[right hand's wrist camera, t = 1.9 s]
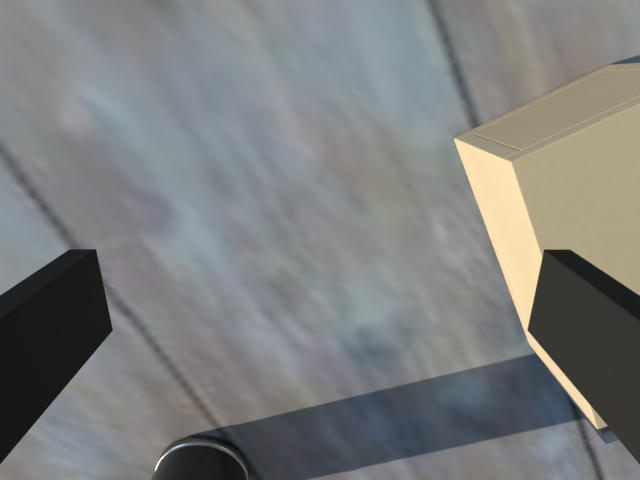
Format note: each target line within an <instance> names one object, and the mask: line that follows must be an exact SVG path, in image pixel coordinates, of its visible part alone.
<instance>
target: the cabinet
mask: <svg viewBox="0 0 640 480" xmlns="http://www.w3.org/2000/svg"><path fill="white" fill-rule="evenodd" d="M454 141H455V143H456V146H457V149H458V151H459V154H460V157H461V160H462V162H463V165H464V168H465V170H466V173H467V176H468V179H469V181H470V184H471V187H472V190H473V192H474V195H475V198H476V200H477V203H478V206H479V209H480V211H481V214H482V217H483V219H484V222H485V225H486V228H487V230H488V233H489V236H490V239H491V241H492V244H493V247H494V249H495V252H496V255H497V258H498V260H499V263H500V266H501V268H502V271H503V274H504V277H505V279H506V282H507V285H508V288H509V290H510V293H511V296H512V298H513V301H514V304H515V307H516V309H517V312H518V315H519V317H520V320H521V323H522V326H523V328H524V331H525V334H526V337H527V339H528V342H529V344H530V346H531V347H532V348H533V349H534V350H535V352H536V353H537V354H538V356H539V357H540V358H541V359H542V361H543V362H544V363H545V364H546V366H547V367H548V368H549V370H550V371H551V372H552V373H553V375H554V376H555V377H556V378H557V380H558V381H559V382H560V383H561V385H562V386H563V387H564V388H565V390H566V391H567V392H568V393H569V395H570V396H571V397H572V398H573V400H574V401H575V402H576V403H577V405H578V406H579V407H580V409H581V410H582V411H583V412H584V414H585V415H586V416H587V417H588V418H589V420H590V421H591V422H592V424H593V425H594V426H595V427H596V428H597V429H601V428H604V427H606V426H607V424H606V423H605V422H604V421H603V420H602V419H601V417H600V416H599V415H598V414H597V413H596V411H595V410H594V409H593V408H592V407H591V405H590V404H589V403H588V402H587V401H586V399H585V398H584V397H583V396H582V395H581V394H580V392H579V391H578V390H577V389H576V388H575V386H574V385H573V384H572V383H571V382H570V380H569V379H568V378H567V377H566V376H565V374H564V373H563V372H562V371H561V370H560V369H559V367H558V366H557V365H556V364H555V363H554V361H553V360H552V359H551V358H550V357H549V355H548V354H547V353H546V352H545V351H544V349H543V348H542V347H541V346H540V345H539V344H538V342H537V341H536V340H535V339H534V338H533V336H532V335H531V334H530V333H529V332H528V330H527V329H528V324H529V320H530V315H531V310H532V305H533V300H534V296H535V291H536V286H537V281H538V276H539V272H540V267H541V262H542V257H543V252H544V249H570V250H572V251H573V252H575V253H576V254H578V255H579V256H581V257H582V258H584V259H585V260H587V261H588V262H590V263H591V264H593V265H594V266H596V267H597V268H599V269H600V270H602V271H603V272H605V273H606V274H608V275H609V276H611V277H612V278H614V279H615V280H617V281H619V282H620V283H622V284H623V285H625V286H626V287H628V288H629V289H631V290H632V291H634V292H635V293H637V294H638V295H640V63H629V64H615V65H607V66H604V67H602V68H600V69H598V70H596V71H594V72H592V73H590V74H588V75H586V76H583V77H581V78H579V79H577V80H575V81H573V82H571V83H569V84H567V85H564V86H562V87H560V88H558V89H556V90H554V91H552V92H550V93H548V94H546V95H543V96H541V97H539V98H537V99H535V100H533V101H531V102H529V103H527V104H524V105H522V106H520V107H518V108H516V109H514V110H512V111H510V112H508V113H506V114H503V115H501V116H499V117H497V118H495V119H493V120H491V121H489V122H487V123H485V124H482V125H480V126H478V127H476V128H474V129H472V130H470V131H468V132H466V133H463V134H461V135H459V136H457V137H455V138H454Z"/></svg>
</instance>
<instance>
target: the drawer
mask: <svg viewBox="0 0 640 480" xmlns="http://www.w3.org/2000/svg"><path fill="white" fill-rule="evenodd" d="M549 371H550V370H549ZM550 374H551V375H552V376H553V377H554V379H555V380H556V381H557V382H558V384H559V385H560V386H561V388H562V389H563V390H564V391H565V393H566V394H567V395H568V396H569V398H570V399H571V400H572V402H573V403H574V404H575V405H576V407H577V408H578V409H579V410H580V412H581V413H582V414H583V416H584V417H585V418H586V419H587V421H588V422H589V423H590V424H591V426H592V427H593V428H594V429H595V431H596V432H597V433H598V435H599V436H600V437H601V438H602V440H603V441H604V442H605V443H606V444H608V443H611V442H614V441H617V440H619V439H618V438H617V436H616V435H615V434H614V433H613V432H612V430H611V429H610V428H609V427H608V426H606V427H604V428H601V429H597V428H596V427H595V426H594V425H593V424H592V422H591V421H590V420H589V418H588V417H587V416H586V415H585V414H584V412H583V411H582V410H581V409H580V407H579V406H578V405H577V403H576V402H575V401H574V400H573V398H572V397H571V396H570V395H569V393H568V392H567V391H566V390H565V388H564V387H563V386H562V385H561V383H560V382H559V381H558V380H557V378H556V377H555V376H554V375H553V373H552V372H551V371H550Z"/></svg>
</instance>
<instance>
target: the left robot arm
mask: <svg viewBox="0 0 640 480" xmlns="http://www.w3.org/2000/svg"><path fill="white" fill-rule="evenodd" d="M249 475H250V472H249V466H248V463H247V461H246V459H245V458H244V456H243V455H242V454H241V453H240V452H239V451H238V450H237V449H236V448H235V447H233V446H232V445H230V444H228V443H226V442H224V441H221V440H219V439H215V438H210V437H199V436H198V437H188V438H184V439H181V440H178V441H176V442H174V443H173V444H171V445H170V446H168V447H167V448H166V449H165V450H164V452H163V453H162V455H161V457H160V459H159V461H158V464H157V466H156V469H155V473H154V474H153V477H152V479H151V480H249Z"/></svg>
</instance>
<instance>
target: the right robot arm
mask: <svg viewBox="0 0 640 480" xmlns="http://www.w3.org/2000/svg"><path fill="white" fill-rule="evenodd" d="M112 330H113V329H112V324H111V320H110V315H109V310H108V305H107V300H106V296H105V291H104V286H103V281H102V276H101V272H100V267H99V262H98V257H97V252H96V249H70V250H68V251H67V252H65V253H64V254H62V255H61V256H59V257H58V258H56V259H55V260H53V261H52V262H50V263H49V264H47V265H46V266H44V267H43V268H41V269H40V270H38V271H37V272H35V273H34V274H32V275H31V276H29V277H28V278H26V279H25V280H23V281H21V282H20V283H18V284H17V285H15V286H14V287H12V288H11V289H9V290H8V291H6V292H5V293H3V294H2V295H0V464H1V463H2V461H3V460H4V459H5V458H6V457H7V455H8V454H9V453H10V452H11V451H12V449H13V448H14V447H15V446H16V445H17V443H18V442H19V441H20V440H21V439H22V438H23V436H24V435H25V434H26V433H27V432H28V430H29V429H30V428H31V427H32V426H33V424H34V423H35V422H36V421H37V420H38V419H39V417H40V416H41V415H42V414H43V413H44V411H45V410H46V409H47V408H48V407H49V405H50V404H51V403H52V402H53V401H54V399H55V398H56V397H57V396H58V395H59V394H60V392H61V391H62V390H63V389H64V388H65V386H66V385H67V384H68V383H69V382H70V380H71V379H72V378H73V377H74V376H75V374H76V373H77V372H78V371H79V370H80V369H81V367H82V366H83V365H84V364H85V363H86V361H87V360H88V359H89V358H90V357H91V355H92V354H93V353H94V352H95V351H96V349H97V348H98V347H99V346H100V345H101V344H102V342H103V341H104V340H105V339H106V338H107V336H108V335H109V334H110V333H111V332H112ZM527 330H528V332H529V333H530V334H531V335H532V336H533V338H534V339H535V340H536V341H537V342H538V344H539V345H540V346H541V347H542V348H543V349H544V351H545V352H546V353H547V354H548V355H549V357H550V358H551V359H552V360H553V361H554V363H555V364H556V365H557V366H558V367H559V369H560V370H561V371H562V372H563V373H564V374H565V376H566V377H567V378H568V379H569V380H570V382H571V383H572V384H573V385H574V386H575V388H576V389H577V390H578V391H579V392H580V394H581V395H582V396H583V397H584V398H585V399H586V401H587V402H588V403H589V404H590V405H591V407H592V408H593V409H594V410H595V411H596V413H597V414H598V415H599V416H600V417H601V419H602V420H603V421H604V422H605V423H606V424H607V426H608V427H609V428H610V429H611V430H612V432H613V433H614V434H615V435H616V436H617V438H618V439H619V440H620V441H621V442H622V443H623V445H624V446H625V447H626V448H627V449H628V451H629V452H630V453H631V454H632V455H633V457H634V458H635V459H636V460H637V461H638V463H639V464H640V295H638V294H637V293H635V292H634V291H632V290H631V289H629V288H628V287H626V286H625V285H623V284H622V283H620V282H619V281H617V280H615V279H614V278H612V277H611V276H609V275H608V274H606V273H605V272H603V271H602V270H600V269H599V268H597V267H596V266H594V265H593V264H591V263H590V262H588V261H587V260H585V259H584V258H582V257H581V256H579V255H578V254H576V253H575V252H573V251H572V250H570V249H544V252H543V257H542V262H541V267H540V272H539V276H538V281H537V286H536V291H535V296H534V300H533V305H532V310H531V315H530V320H529V324H528V329H527Z"/></svg>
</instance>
